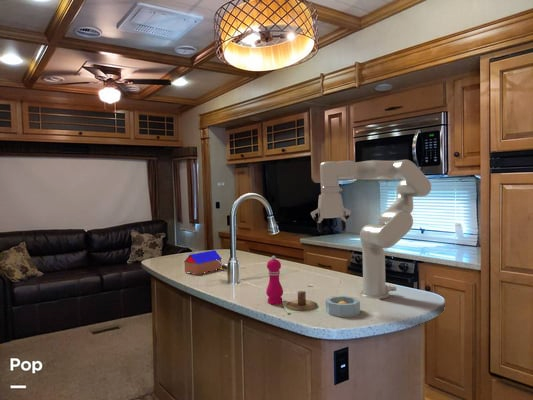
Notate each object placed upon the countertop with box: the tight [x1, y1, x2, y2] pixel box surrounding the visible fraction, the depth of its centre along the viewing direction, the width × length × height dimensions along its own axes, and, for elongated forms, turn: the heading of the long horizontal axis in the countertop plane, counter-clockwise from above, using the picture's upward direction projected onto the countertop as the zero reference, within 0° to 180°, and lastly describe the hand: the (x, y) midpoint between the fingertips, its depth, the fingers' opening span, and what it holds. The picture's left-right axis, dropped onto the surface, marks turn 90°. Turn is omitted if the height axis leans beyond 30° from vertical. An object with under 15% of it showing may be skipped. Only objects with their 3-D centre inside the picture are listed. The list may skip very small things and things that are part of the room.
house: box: [183, 249, 222, 275], centre depth 237 cm, size 12×20×12 cm, turn 140°
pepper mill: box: [265, 255, 284, 305], centre depth 166 cm, size 7×7×20 cm
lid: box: [286, 290, 319, 312], centre depth 158 cm, size 13×13×6 cm
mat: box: [281, 300, 324, 315], centre depth 158 cm, size 14×14×1 cm
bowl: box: [325, 295, 361, 318], centre depth 149 cm, size 12×12×5 cm
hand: (331, 231), depth 164 cm, fingers open, 9 cm apart
